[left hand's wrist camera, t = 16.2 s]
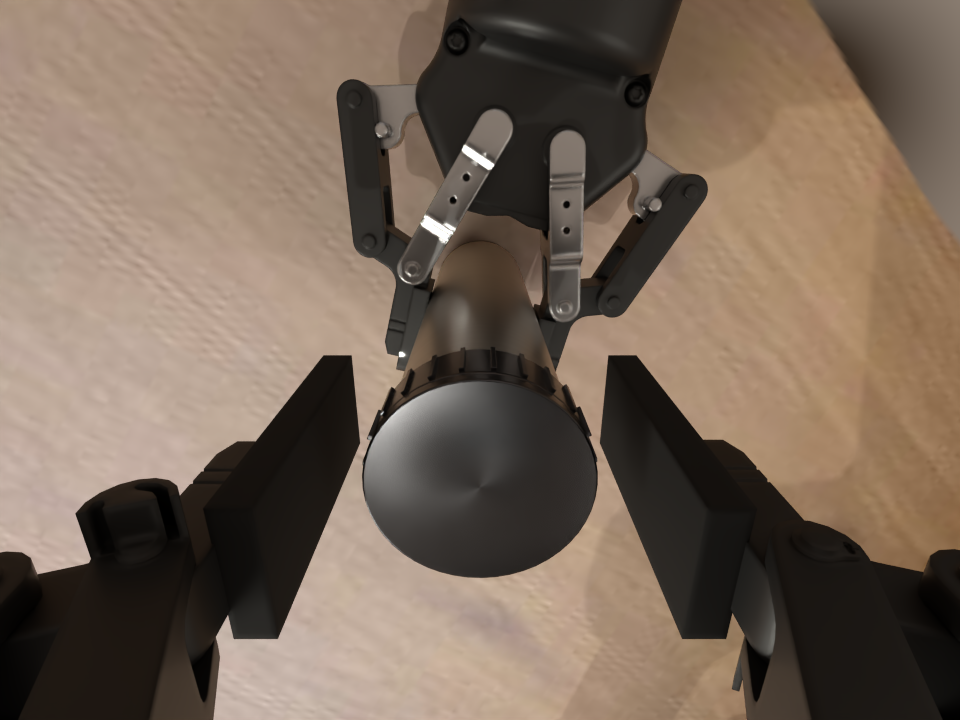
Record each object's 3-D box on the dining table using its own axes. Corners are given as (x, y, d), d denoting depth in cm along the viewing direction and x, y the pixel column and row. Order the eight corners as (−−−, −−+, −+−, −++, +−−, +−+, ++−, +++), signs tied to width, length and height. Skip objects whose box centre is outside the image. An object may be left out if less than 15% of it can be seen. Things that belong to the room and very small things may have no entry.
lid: (482, 561, 13) (482, 615, 12) (331, 446, 12) (309, 489, 11) (628, 441, 12) (651, 485, 11) (476, 299, 11) (476, 323, 9)
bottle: (428, 253, 27) (347, 404, 11) (510, 231, 27) (559, 351, 10) (451, 330, 29) (413, 568, 12) (529, 311, 28) (599, 528, 12)
